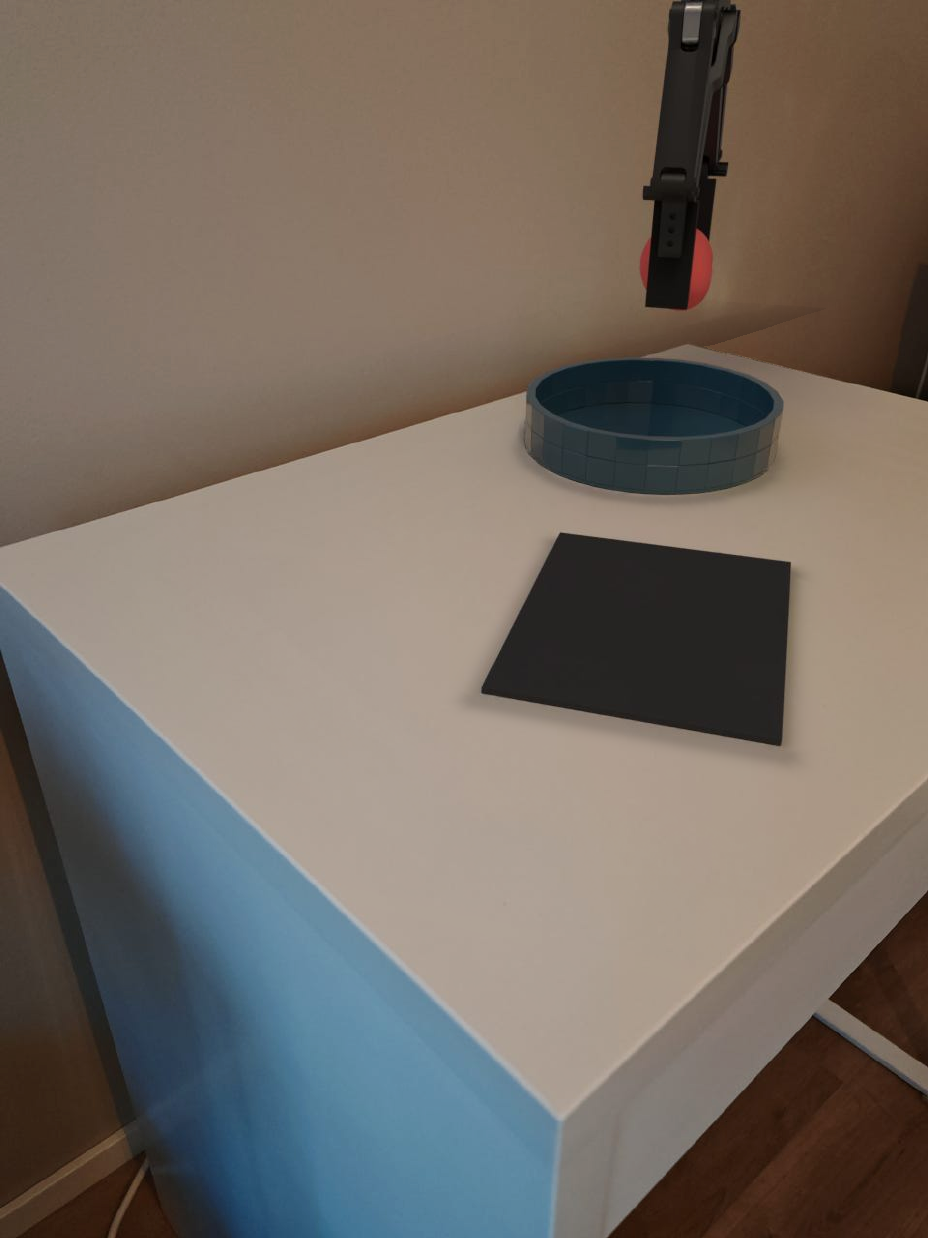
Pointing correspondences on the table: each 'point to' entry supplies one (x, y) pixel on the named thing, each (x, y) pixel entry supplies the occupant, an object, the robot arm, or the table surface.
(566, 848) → the table surface
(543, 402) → the bowl
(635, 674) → the mat
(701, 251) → the stress ball
